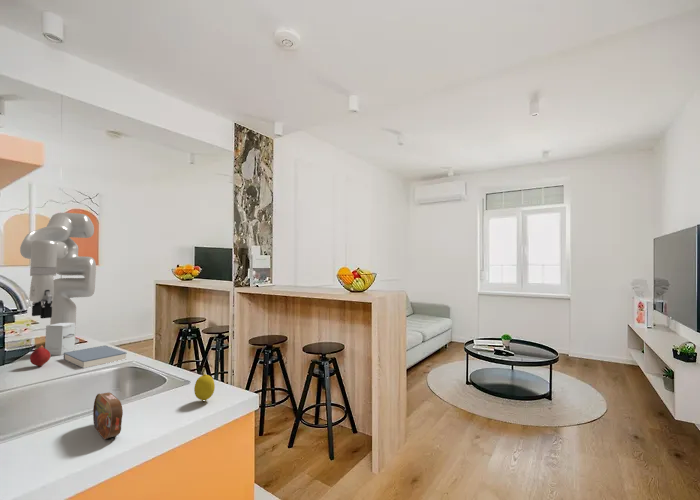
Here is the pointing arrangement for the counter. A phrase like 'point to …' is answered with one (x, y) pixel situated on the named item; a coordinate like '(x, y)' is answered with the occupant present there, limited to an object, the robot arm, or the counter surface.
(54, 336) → the supplement box
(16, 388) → the counter surface
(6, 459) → the counter surface
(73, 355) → the book
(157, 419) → the counter surface
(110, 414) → the tin
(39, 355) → the onion
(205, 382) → the lemon
